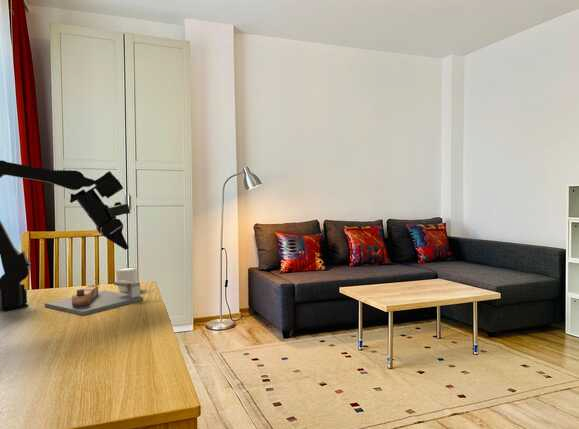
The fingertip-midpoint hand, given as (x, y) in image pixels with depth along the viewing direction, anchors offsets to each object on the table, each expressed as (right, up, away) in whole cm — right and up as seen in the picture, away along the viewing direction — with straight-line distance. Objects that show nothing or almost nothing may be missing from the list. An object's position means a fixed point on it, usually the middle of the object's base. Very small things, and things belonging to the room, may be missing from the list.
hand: (125, 247), depth 140 cm
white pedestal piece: (-2, -15, +8) cm, 17 cm away
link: (-7, -14, -11) cm, 19 cm away
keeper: (+3, -15, -6) cm, 17 cm away
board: (-5, -15, -11) cm, 19 cm away
